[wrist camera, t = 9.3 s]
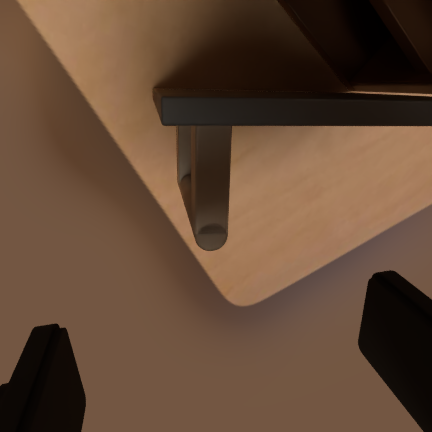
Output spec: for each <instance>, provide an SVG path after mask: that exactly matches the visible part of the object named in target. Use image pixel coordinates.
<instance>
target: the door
mask: <svg viewBox="0 0 432 432" xmlns="http://www.w3.org/2000/svg"><path fill="white" fill-rule="evenodd" d="M153 100H154V103H155V106H156V109H157V112H158V114H159V117H160V120H161V123H162V125H164V126H176V137H177V181H178V185H179V188H180V192H181V195H182V198H183V201H184V205H185V208H186V211H187V214H188V218H189V221H190V224H191V227H192V231H193V234H194V237H195V240H196V243H197V245H198V246H199V247H200V248H202V249H204V250H207V251H214V250H217V249H219V248H221V247H222V246H223V245H224V244H225V242H226V240H227V237H228V213H229V188H230V163H231V138H232V126H432V97H430V96H408V95H387V94H365V93H342V92H297V91H252V90H207V89H162V88H153Z"/></svg>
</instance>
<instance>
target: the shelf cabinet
mask: <svg viewBox="0 0 432 432" xmlns="http://www.w3.org/2000/svg"><path fill="white" fill-rule="evenodd" d="M277 1H278V2H279V3H280V5H281V6H282V7H283V9H284V10H285V11H286V12H287V14H288V15H289V16H290V17H291V19H292V20H293V21H294V22H295V24H296V25H297V26H298V27H299V29H300V30H301V31H302V33H303V34H304V35H305V36H306V38H307V39H308V40H309V41H310V43H311V44H312V45H313V46H314V48H315V49H316V50H317V51H318V53H319V54H320V55H321V56H322V58H323V59H324V60H325V62H326V63H327V64H328V65H329V67H330V68H331V69H332V70H333V72H334V73H335V74H336V75H337V77H338V78H339V79H340V80H341V82H342V83H343V84H344V86H345V87H346V88H347V89H348V91H365V92H392V93H419V94H432V0H277Z"/></svg>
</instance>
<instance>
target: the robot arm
mask: <svg viewBox="0 0 432 432" xmlns="http://www.w3.org/2000/svg"><path fill="white" fill-rule="evenodd" d="M358 345H359V349H360V351H361V352H362V354H363V355H364V356H365V358H366V359H367V360H368V362H369V363H370V364H371V365H372V367H373V368H374V369H375V370H376V372H377V373H378V374H379V376H380V377H381V378H382V379H383V381H384V382H385V383H386V384H387V386H388V387H389V388H390V389H391V391H392V392H393V393H394V395H395V396H396V397H397V398H398V400H399V401H400V402H401V403H402V405H403V406H404V407H405V408H406V410H407V411H408V412H409V414H410V415H411V416H412V417H413V419H414V420H415V421H416V422H417V424H418V425H419V426H420V427H421V429H422V430H423V431H424V432H432V300H431V299H430V298H429V297H428V296H426V295H425V294H424V293H422V292H421V291H420V290H418V289H417V288H416V287H415V286H413V285H412V284H411V283H409V282H408V281H407V280H406V279H404V278H403V277H402V276H400V275H399V274H398V273H397V272H395V271H391V270H390V271H384V272H378V273H375V274H373V276H372V278H371V279H369V281H368V286H367V292H366V298H365V303H364V310H363V315H362V322H361V327H360V333H359V339H358ZM85 407H86V398H85V393H84V389H83V385H82V382H81V378H80V375H79V371H78V368H77V364H76V361H75V357H74V353H73V350H72V346H71V343H70V339H69V336H68V332H67V329H66V328H60V327H59V325H58V324H50V325H44V326H37V327H34V328H33V330H32V332H31V334H30V337H29V338H28V341H27V343H26V345H25V347H24V350H23V352H22V354H21V356H20V359H19V361H18V363H17V365H16V368H15V370H14V372H13V374H12V377H11V379H10V381H9V383H6V384H2V385H1V386H0V432H81V430H82V424H83V419H84V413H85Z"/></svg>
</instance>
